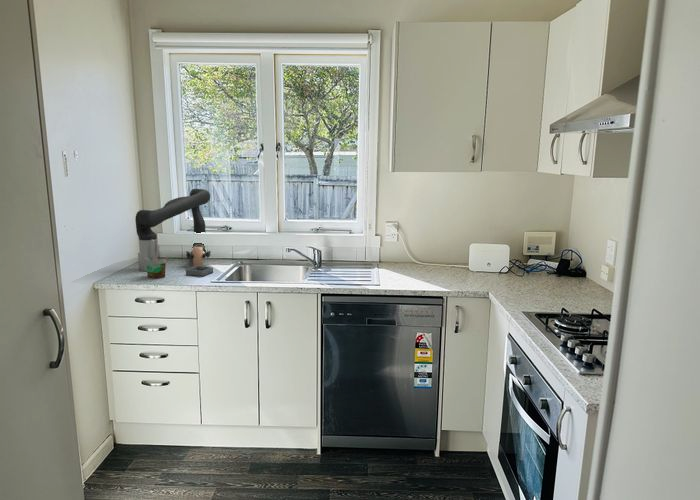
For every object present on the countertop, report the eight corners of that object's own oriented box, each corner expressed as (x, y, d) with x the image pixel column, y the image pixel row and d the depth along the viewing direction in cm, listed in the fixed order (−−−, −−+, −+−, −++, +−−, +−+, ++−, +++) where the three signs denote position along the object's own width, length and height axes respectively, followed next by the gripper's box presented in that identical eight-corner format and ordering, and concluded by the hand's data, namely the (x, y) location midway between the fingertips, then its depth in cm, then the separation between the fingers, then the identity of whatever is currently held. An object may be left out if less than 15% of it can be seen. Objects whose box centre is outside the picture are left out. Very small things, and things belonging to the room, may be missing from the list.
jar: (191, 268, 269) (190, 247, 267) (196, 266, 275) (196, 246, 272) (199, 269, 268) (199, 248, 266) (205, 267, 273) (204, 246, 271)
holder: (186, 275, 254) (185, 269, 254) (197, 271, 264) (197, 265, 263) (202, 276, 251) (202, 271, 251) (213, 272, 261) (213, 267, 260)
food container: (139, 277, 246) (138, 259, 244) (147, 275, 252) (146, 256, 250) (159, 280, 243) (158, 261, 241) (167, 277, 248) (166, 258, 246)
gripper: (186, 245, 281) (184, 250, 265) (211, 244, 285) (210, 249, 269) (186, 257, 282) (184, 263, 266) (211, 256, 286) (211, 262, 270)
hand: (197, 256), depth 268 cm, fingers closed on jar, 5 cm apart
